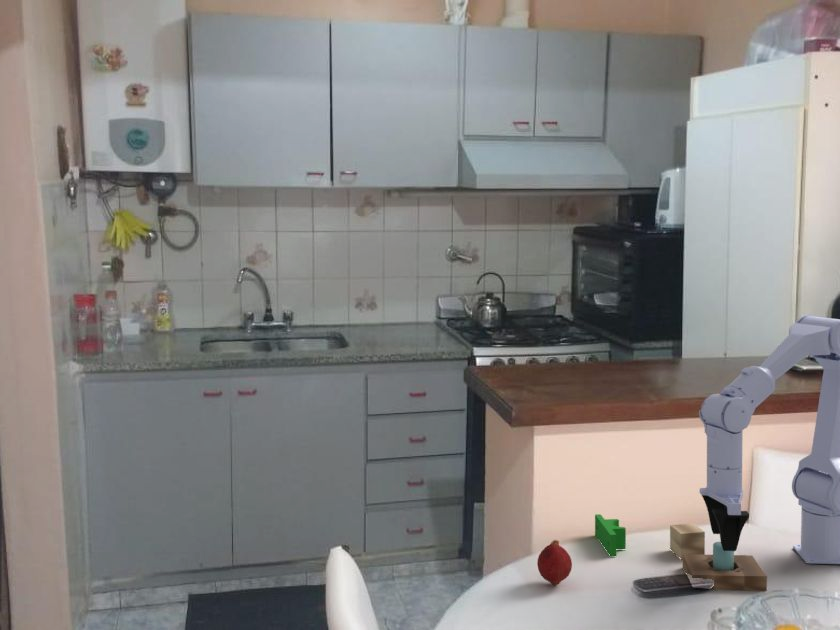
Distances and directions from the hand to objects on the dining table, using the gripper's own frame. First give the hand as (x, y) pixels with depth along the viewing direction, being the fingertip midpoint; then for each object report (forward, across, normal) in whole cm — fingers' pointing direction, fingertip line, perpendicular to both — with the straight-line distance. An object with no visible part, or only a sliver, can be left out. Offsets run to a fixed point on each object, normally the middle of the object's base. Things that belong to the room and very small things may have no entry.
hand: (724, 541), depth 147 cm
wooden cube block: (+7, -11, -4) cm, 13 cm away
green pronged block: (+7, -14, -18) cm, 24 cm away
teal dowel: (+7, 0, 0) cm, 7 cm away
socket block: (+7, 0, 0) cm, 7 cm away
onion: (+7, +4, -29) cm, 30 cm away
